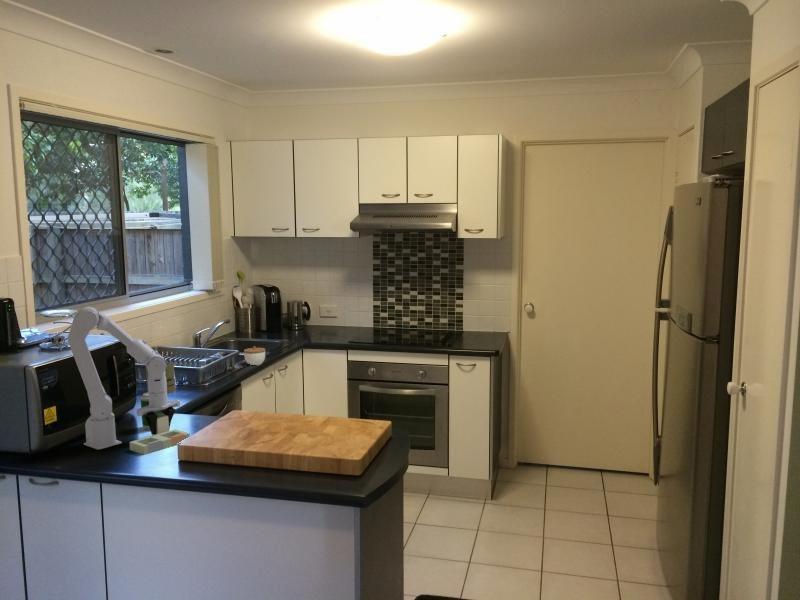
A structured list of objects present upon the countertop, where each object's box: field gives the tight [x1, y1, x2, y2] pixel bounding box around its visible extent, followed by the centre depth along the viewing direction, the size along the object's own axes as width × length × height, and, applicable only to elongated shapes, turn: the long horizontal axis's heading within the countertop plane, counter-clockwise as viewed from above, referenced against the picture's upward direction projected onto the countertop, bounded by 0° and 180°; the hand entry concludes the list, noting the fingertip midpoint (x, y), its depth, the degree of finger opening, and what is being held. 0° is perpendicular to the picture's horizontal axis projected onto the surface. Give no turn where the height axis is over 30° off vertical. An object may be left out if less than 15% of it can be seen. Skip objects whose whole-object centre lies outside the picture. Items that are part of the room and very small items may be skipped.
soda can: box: [140, 391, 161, 431], centre depth 230 cm, size 8×8×12 cm
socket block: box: [129, 429, 191, 455], centre depth 210 cm, size 8×16×3 cm, turn 141°
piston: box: [145, 361, 176, 395], centre depth 284 cm, size 11×12×11 cm
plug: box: [151, 413, 170, 436], centre depth 219 cm, size 4×4×8 cm
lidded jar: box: [243, 345, 266, 366], centre depth 339 cm, size 11×11×9 cm
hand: (160, 432), depth 219 cm, fingers closed on plug, 4 cm apart
